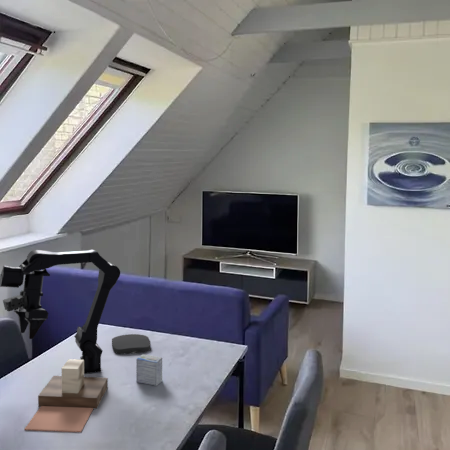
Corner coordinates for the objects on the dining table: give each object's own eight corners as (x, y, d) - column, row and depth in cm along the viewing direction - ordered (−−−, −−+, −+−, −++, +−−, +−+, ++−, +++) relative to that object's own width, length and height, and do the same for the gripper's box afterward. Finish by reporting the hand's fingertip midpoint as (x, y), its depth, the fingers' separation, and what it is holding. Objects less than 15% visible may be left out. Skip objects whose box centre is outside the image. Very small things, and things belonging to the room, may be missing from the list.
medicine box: (162, 381, 181) (162, 357, 180) (156, 386, 177) (157, 362, 175) (142, 377, 183) (142, 353, 182) (135, 382, 179) (136, 358, 178)
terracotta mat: (41, 407, 161) (41, 406, 161) (93, 409, 160) (93, 408, 160) (24, 430, 148) (24, 428, 148) (81, 432, 148) (81, 430, 148)
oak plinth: (53, 385, 175) (53, 375, 174) (107, 387, 175) (107, 377, 174) (38, 406, 161) (38, 395, 160) (96, 408, 161) (96, 397, 160)
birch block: (68, 382, 170) (68, 359, 169) (84, 383, 170) (84, 359, 169) (61, 392, 163) (61, 368, 162) (77, 393, 163) (77, 368, 162)
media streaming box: (110, 342, 215) (110, 335, 215) (146, 339, 220) (146, 332, 219) (114, 356, 201) (114, 348, 201) (152, 352, 206) (152, 345, 205)
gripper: (-1, 283, 176) (-7, 330, 176) (15, 291, 161) (9, 342, 161) (33, 285, 183) (27, 329, 182) (51, 293, 168) (45, 341, 168)
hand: (26, 335), depth 173 cm, fingers open, 9 cm apart
